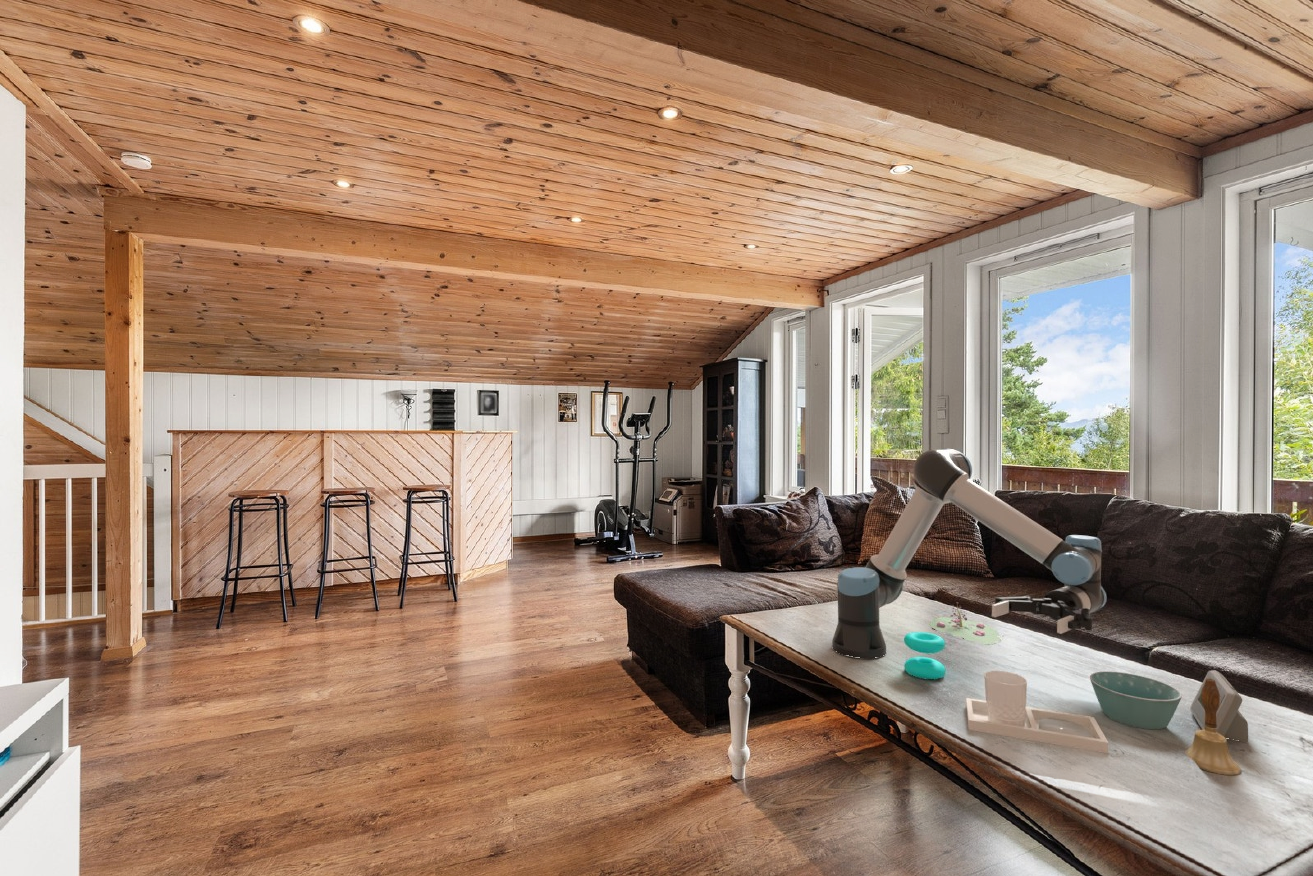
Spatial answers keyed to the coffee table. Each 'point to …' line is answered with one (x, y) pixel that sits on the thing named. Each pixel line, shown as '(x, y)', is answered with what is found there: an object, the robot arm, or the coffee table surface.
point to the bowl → (1135, 699)
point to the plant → (966, 628)
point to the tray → (1031, 732)
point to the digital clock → (1223, 709)
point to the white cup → (1005, 697)
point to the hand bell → (1212, 738)
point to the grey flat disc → (1063, 727)
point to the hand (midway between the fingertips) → (1024, 618)
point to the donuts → (924, 665)
